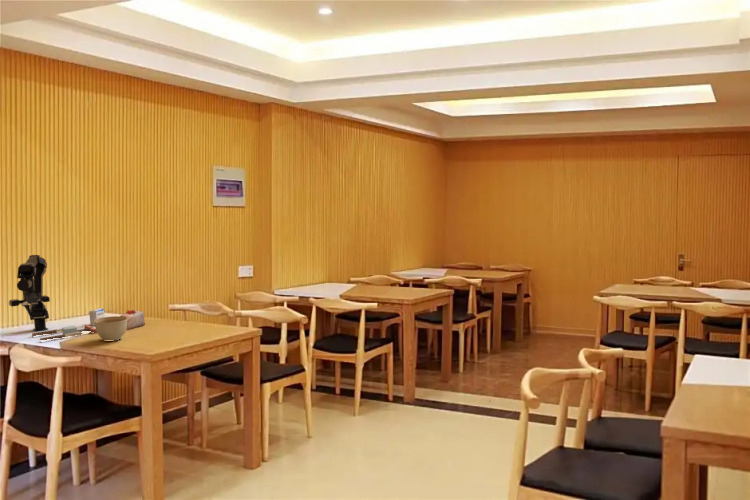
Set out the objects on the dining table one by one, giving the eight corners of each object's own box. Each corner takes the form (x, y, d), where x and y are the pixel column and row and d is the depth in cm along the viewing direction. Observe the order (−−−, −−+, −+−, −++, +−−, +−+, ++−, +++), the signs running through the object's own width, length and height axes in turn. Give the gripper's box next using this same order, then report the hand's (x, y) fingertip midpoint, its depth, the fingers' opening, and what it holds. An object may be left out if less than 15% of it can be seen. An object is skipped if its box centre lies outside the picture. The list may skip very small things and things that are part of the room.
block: (62, 334, 378) (62, 327, 377) (74, 333, 381) (73, 325, 381) (65, 336, 373) (64, 329, 372) (77, 335, 376) (76, 327, 376)
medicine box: (97, 326, 396) (96, 311, 395) (90, 326, 397) (89, 310, 396) (105, 323, 404) (104, 308, 403) (98, 322, 405) (97, 308, 404)
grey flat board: (32, 336, 374) (32, 333, 373) (87, 328, 392) (87, 324, 391) (40, 342, 361) (40, 338, 360) (97, 333, 379) (97, 329, 378)
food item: (127, 330, 383) (125, 313, 382) (117, 329, 387) (115, 312, 386) (146, 325, 395) (145, 308, 393) (136, 324, 399) (135, 307, 397)
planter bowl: (109, 345, 351) (107, 324, 350) (88, 341, 360) (87, 321, 359) (135, 338, 365) (134, 317, 364) (115, 335, 373) (113, 314, 372)
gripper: (12, 292, 358) (15, 322, 360) (51, 287, 370) (53, 316, 372) (7, 289, 367) (10, 318, 368) (45, 284, 378) (47, 313, 380)
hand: (30, 316), depth 372 cm, fingers closed
